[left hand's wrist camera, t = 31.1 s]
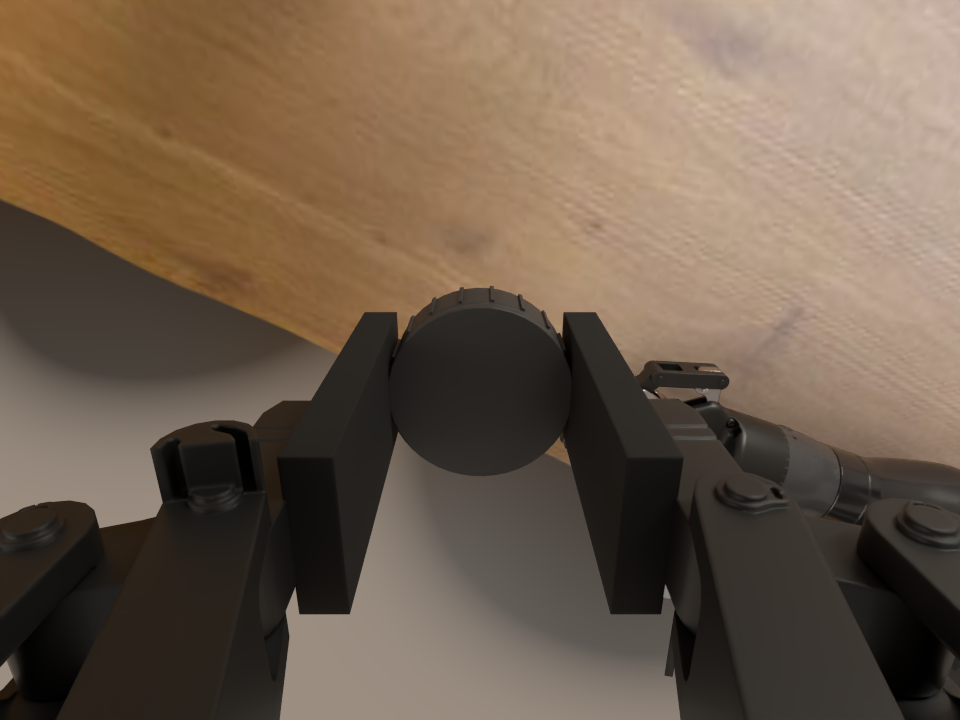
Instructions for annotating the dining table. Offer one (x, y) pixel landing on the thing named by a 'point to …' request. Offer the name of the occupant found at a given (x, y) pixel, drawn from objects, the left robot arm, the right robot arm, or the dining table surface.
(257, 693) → the left robot arm
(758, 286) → the dining table surface
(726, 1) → the dining table surface
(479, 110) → the dining table surface
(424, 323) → the cap
